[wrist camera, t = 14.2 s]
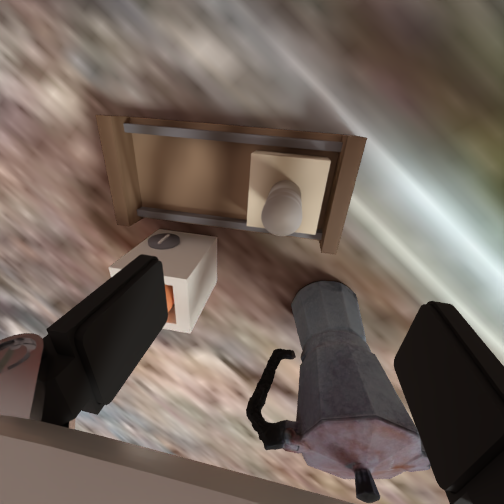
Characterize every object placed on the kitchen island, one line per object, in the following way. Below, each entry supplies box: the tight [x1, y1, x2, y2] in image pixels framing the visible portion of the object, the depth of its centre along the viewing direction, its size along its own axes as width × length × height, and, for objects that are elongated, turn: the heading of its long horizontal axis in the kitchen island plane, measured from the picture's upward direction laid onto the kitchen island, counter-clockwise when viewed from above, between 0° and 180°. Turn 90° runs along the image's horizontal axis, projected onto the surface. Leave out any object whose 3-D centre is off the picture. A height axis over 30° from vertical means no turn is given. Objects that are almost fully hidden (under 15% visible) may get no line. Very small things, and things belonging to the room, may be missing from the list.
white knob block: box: [109, 229, 217, 333], centre depth 30 cm, size 8×8×10 cm
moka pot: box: [246, 281, 431, 503], centre depth 26 cm, size 10×15×20 cm, turn 92°
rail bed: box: [96, 115, 367, 254], centre depth 26 cm, size 24×11×4 cm, turn 86°
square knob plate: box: [247, 150, 331, 236], centre depth 22 cm, size 7×7×9 cm
